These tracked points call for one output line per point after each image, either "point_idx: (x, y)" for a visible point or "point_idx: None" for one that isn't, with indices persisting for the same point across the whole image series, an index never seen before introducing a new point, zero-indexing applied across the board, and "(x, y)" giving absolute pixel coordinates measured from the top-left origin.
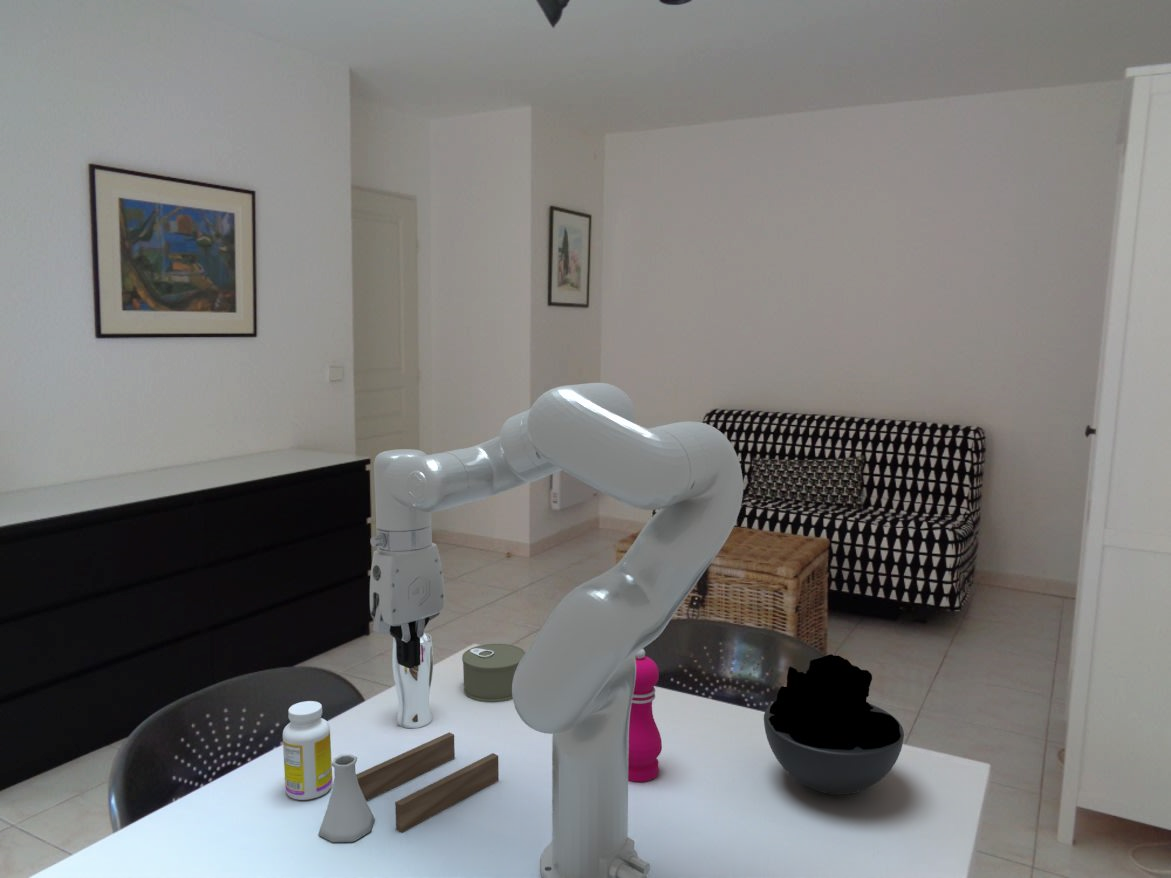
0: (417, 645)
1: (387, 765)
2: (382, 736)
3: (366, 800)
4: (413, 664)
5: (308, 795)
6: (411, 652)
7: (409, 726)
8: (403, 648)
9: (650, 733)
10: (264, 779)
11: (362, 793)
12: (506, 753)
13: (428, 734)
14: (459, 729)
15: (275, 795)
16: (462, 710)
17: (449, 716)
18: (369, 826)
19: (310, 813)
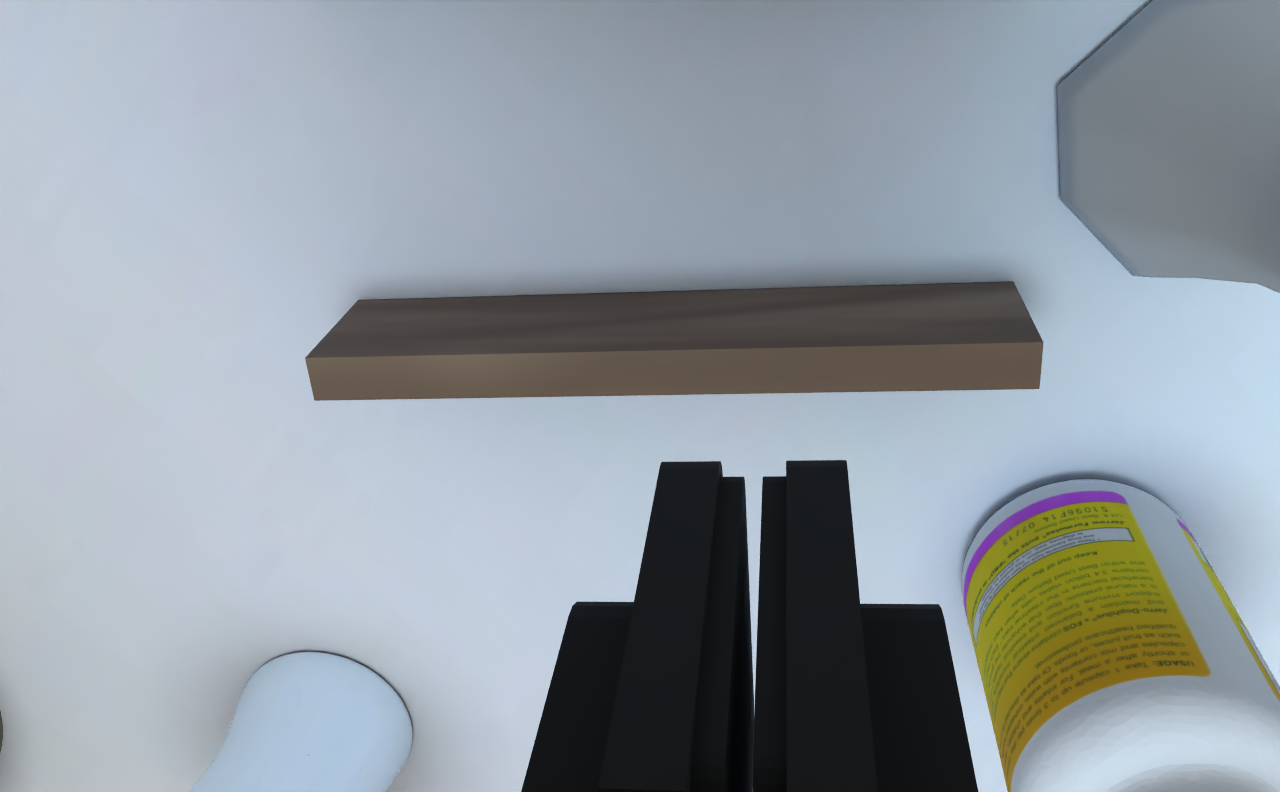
0: (676, 687)
1: (814, 346)
2: (527, 708)
3: (955, 285)
4: (800, 479)
5: (1157, 502)
6: (842, 620)
7: (383, 687)
8: (971, 773)
9: None
10: None
11: (1174, 147)
12: (94, 135)
13: (340, 578)
14: (187, 512)
15: None
16: (84, 641)
17: (167, 640)
18: (1160, 12)
19: (1218, 391)
